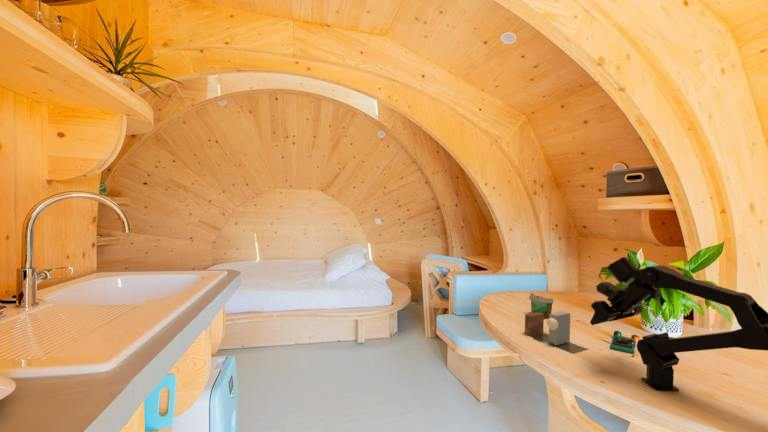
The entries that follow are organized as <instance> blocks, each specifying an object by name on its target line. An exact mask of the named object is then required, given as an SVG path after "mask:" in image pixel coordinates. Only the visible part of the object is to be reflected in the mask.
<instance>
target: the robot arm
mask: <svg viewBox="0 0 768 432" xmlns="http://www.w3.org/2000/svg"><path fill="white" fill-rule="evenodd" d="M606 267H607V268H606V269H607V271H608V272H609V273H610V274H611V275H612V276H613V277H614V278H615V279H616V280H617V281H618V282H619V283H620V284H622V283H624V284H626V285H627V286H626V287H624V288H623V289H622V288H620V287H618V286H617V285H615V284H613V283H612V282H609V281H603V282H602V281H601V282H599V283H598V284H597V285H596V286H595V287H596V292H597V293H600V294H602V295H604V297H607V299H606V300H607V302H606V300H601V299H600V300H595V301H593V303H591V304H590V307H591V308H592V309H593V311H594V313H593V315H592V318H591V319H590V322H589V323H590V325H591V326H595V325H599V324H602V323H607V322H610V323H611V322H613V321H619V320H623V319H626V318H631V317H634V316H638V315H640V314H641V313H643V307H642V305H643V302H644V301H646V299H647V298H649V297H651V298H652V299H653V300H654V299H661V298H662V293H661V292H662V291H661V289H669V290H677V291H680V292H683V293H686V294H689V295H692V296H695V297H698V298H702V299H704V300H708V301H710V302H714V303H716V304H719V305H723V306H726V307H729V308H730V309H731V312H732V313H733V314H734V317H735V319H736V321H737V323H738V325H739V326H740V328H739V329H735V330H729V331H721V332H714V333H705V334H696V335H689V336H680V337H672V336H669V332H662V333H652V334H648V335H643V336H642V339H639V340H637V343H636V349H637V351H638V354H639V355H640V358H641V361H642V363H643V365H645V366H646V375H645V376H646V377H641V378H640V379H641V381H643V382H644V383H646V384H647V385H648V386H650V387H651V388H652V389H654V390H656V391H672V392H679V391H680V388H679V387H676V386H675V385H674V378H675V377H674V376H675V373H674V372H675V370H674V368H673V366H677V365H678V364H679V362H680V358H679V357H678V356H677V354H676V353H686V352H687V353H688V352H697V351H709V350H720V349H732V348H740V349H745V350H752V351H768V311H767V310H766V309H764V308H763V307H762V306H761V305H760V304H758V302H757V301H756V300H755V298H753V296H752V295H750V294H748V293H746V292H739V291H737V290H732V289H729V288H725V287H723V286H719V285H715V284H712V283H709V282H705V281H701V280H698V279H695V278H691V277H688V276H685V275H684V274H682V273H681V272H678V271H677V270H675V269H673V268H671V267H668V266H666V265H661V264H660V265H651V266H650V265H649V266H646V267H644V268H637V267H636V266H635V265H634V264H633V263H632V262H631V261H630V260H629V258H627V256H625V257H623V256H622V257H620V258H618V259H617V260H615V261H613V262H612V263H610V264H609V265H608V266H606ZM608 302H609V303H610V305H609V303H608Z"/></svg>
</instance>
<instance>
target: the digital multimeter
mask: <svg viewBox="0 0 768 432" xmlns="http://www.w3.org/2000/svg"><path fill="white" fill-rule="evenodd" d="M632 343H633V344H632ZM635 347H636V340H635V339H633V338H630V337H627V336H622V335H613V336H612V337H611V342H610V345H609V350H613V351H615V352H619V353H625V354H630V355H631V356H630V357H632V358H633V357H635Z"/></svg>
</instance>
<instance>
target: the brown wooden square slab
mask: <svg viewBox="0 0 768 432" xmlns="http://www.w3.org/2000/svg"><path fill="white" fill-rule="evenodd" d="M544 320H545V319H544V314H543V313H540V312H536V313H532V312H531V313H526V314H524V333H525V334H526V335H525V336H527V335H529V336H532V335H536V334H541V333H544ZM529 336H528V337H529Z"/></svg>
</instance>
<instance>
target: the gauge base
mask: <svg viewBox="0 0 768 432" xmlns="http://www.w3.org/2000/svg"><path fill="white" fill-rule="evenodd" d="M521 334H522V335H525V336H527V337H530V338H532V340H534V341H536V342H538V343H539V342H540V343H542V344H543V345H546V346H549V347H551V348H557V349H560V350H562V351H564V352H566V353H569V354H572V355H574V354H577V353H581V352H584V351H588V350H589V349H588V348H587V347H584V346H581V345H578V344H575V343H572V342H571V341H570V342H567V343H563V344H559V345H554V344H551V345H549V344H548V343H549V333H546V332H543V333H541V334H536V335H532V336H529V335H526V334H525V332H522V333H521Z"/></svg>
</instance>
